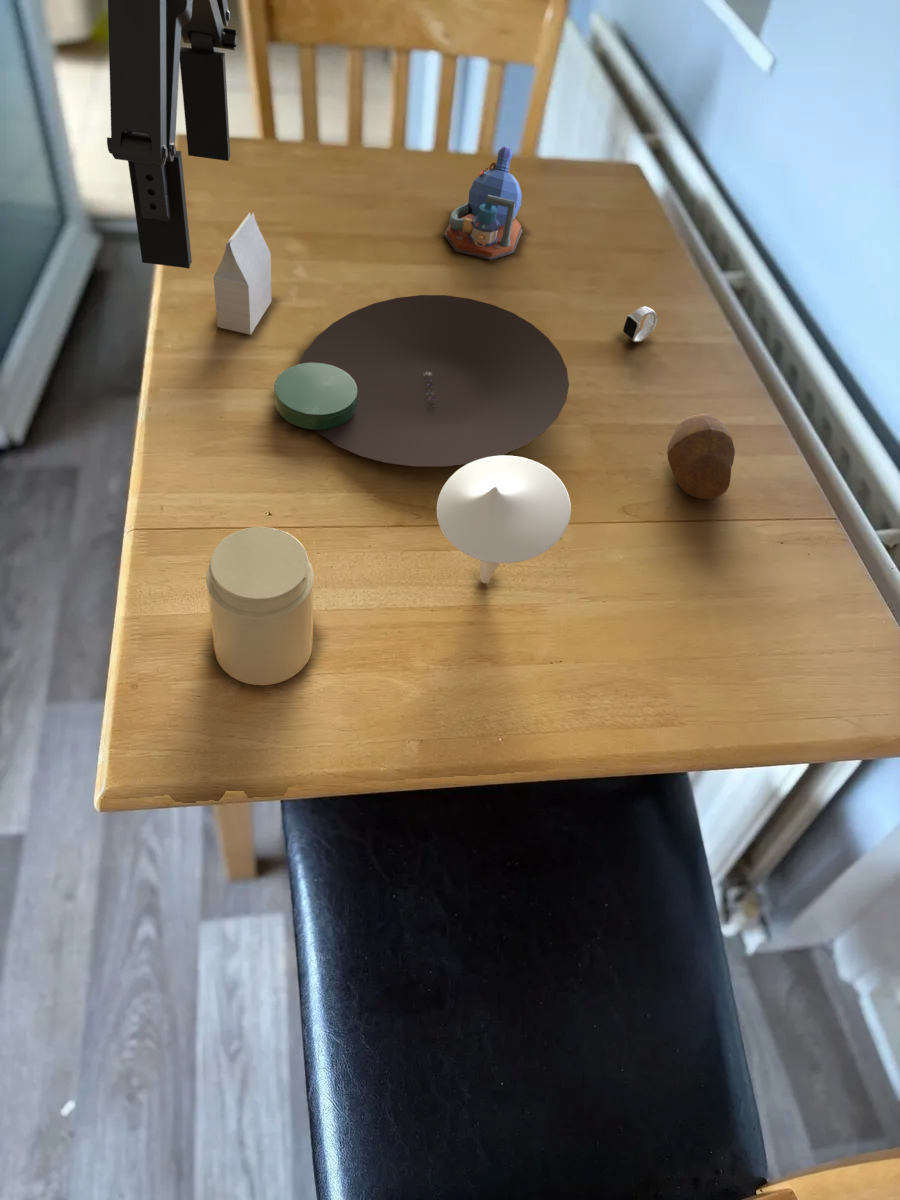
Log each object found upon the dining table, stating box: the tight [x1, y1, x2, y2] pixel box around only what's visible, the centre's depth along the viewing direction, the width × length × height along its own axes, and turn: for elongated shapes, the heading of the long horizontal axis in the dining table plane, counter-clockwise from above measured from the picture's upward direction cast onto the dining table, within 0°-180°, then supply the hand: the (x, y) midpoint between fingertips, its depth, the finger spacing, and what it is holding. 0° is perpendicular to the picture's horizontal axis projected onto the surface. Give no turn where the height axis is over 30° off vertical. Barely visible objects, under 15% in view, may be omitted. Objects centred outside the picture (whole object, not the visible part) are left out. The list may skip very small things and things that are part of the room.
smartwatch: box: [622, 306, 658, 343], centre depth 104 cm, size 4×2×4 cm, turn 121°
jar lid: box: [273, 363, 357, 431], centre depth 90 cm, size 8×8×2 cm
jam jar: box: [205, 526, 315, 686], centre depth 68 cm, size 8×8×10 cm
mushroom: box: [436, 455, 572, 584], centre depth 74 cm, size 10×11×12 cm
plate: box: [298, 294, 570, 467], centre depth 93 cm, size 28×28×4 cm
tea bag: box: [213, 212, 273, 336], centre depth 95 cm, size 4×7×10 cm, turn 168°
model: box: [443, 145, 524, 261], centre depth 113 cm, size 12×9×9 cm
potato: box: [666, 413, 736, 500], centre depth 89 cm, size 7×10×6 cm
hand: (189, 205), depth 58 cm, fingers open, 13 cm apart
